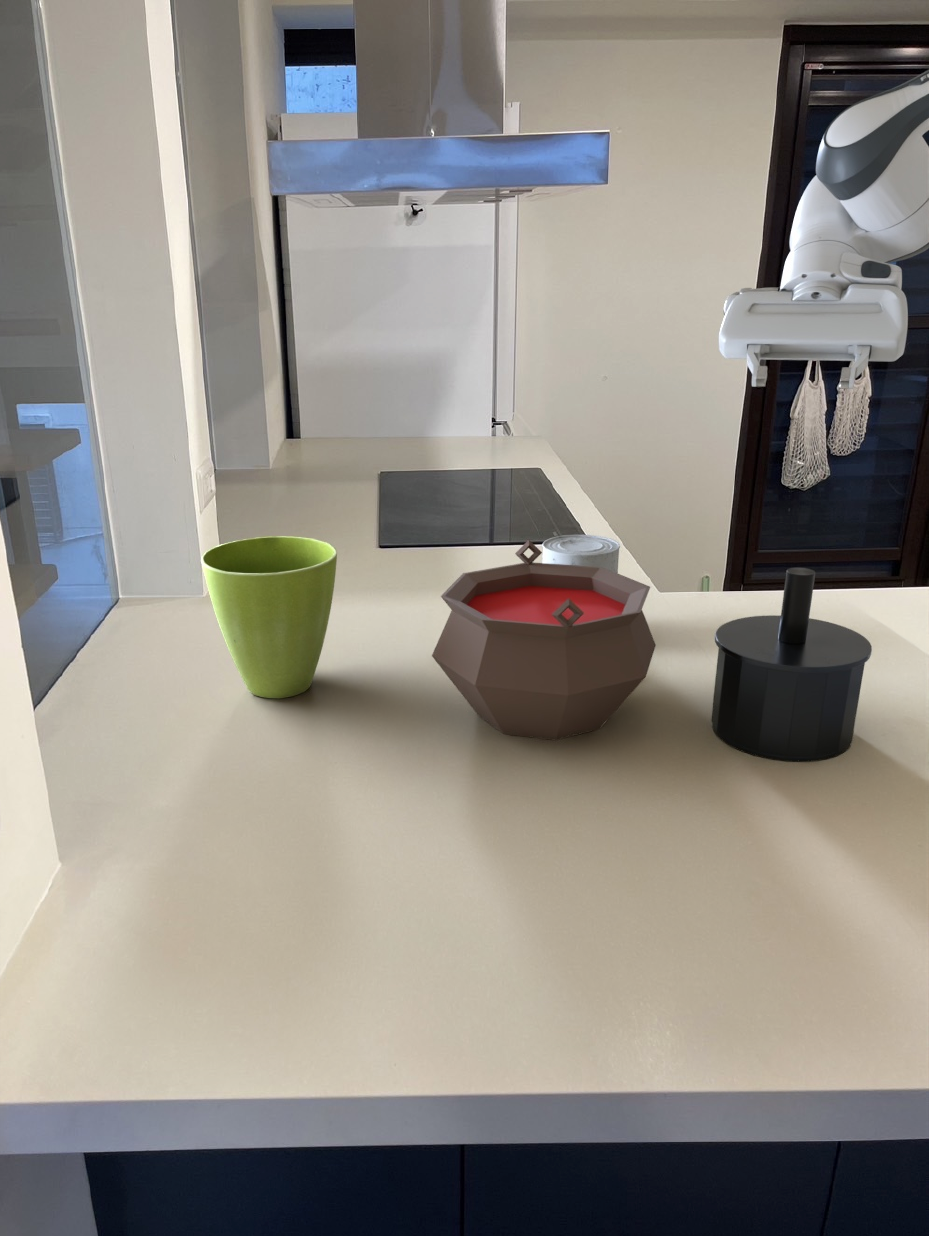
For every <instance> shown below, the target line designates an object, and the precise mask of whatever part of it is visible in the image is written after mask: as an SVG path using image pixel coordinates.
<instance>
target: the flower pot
mask: <svg viewBox="0 0 929 1236" xmlns="http://www.w3.org/2000/svg"><path fill="white" fill-rule="evenodd" d="M337 560H338V550H337V548H336V547H335V546H334V545H332V544H330V543H329V542H326V541H323V540H319V539H316V538H309V537H303V536H290V535H289V536H288V535H286V536H285V535H282V536H260V537H252V538H245V539H239V540H233V541H229V542H226V543H222V544H219V545H216V546H214V547H212V548H210V549H208V550H206V551H205V552H204V553H203V554H202V555H201V557H200V562H201V566H202V567H201V568H202V570H203V574H204V578H205V583H206V587H207V591H208V594H209V597H210V600H211V604H212V608H213V611H214V614H215V618H216V620H217V623H218V626H219V628H220V631H221V635H222V637H223V639H224V641H225V644H226V646H227V649H228V652H229V654H230V656H231V658H232V661H233V662H234V665H235V667H236V668H237V671H238V673H239V675H240V677H241V679H242V682H243V683H244V685H245V686H246V689H247V691H248V692H249V693H251V694H252V695H253V696H257V697H259V698H265V699H284V698H290V697H295V696H298V695H301V694H303V693H304V692H306V691H307V690H308V689H309V688H310V687H311V685H312V683H313V680H314V677H315V675H316V674H315V673H316V671H317V667H318V664H319V662H320V661H319V660H320V658H321V654H322V650H323V647H324V642H325V638H326V633H327V630H328V626H329V625H328V624H329V620H330V615H331V611H332V610H331V609H332V605H333V598H334V597H333V596H334V590H335V581H336V573H337V572H336V571H337Z"/></svg>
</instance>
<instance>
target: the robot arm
mask: <svg viewBox="0 0 929 1236" xmlns="http://www.w3.org/2000/svg"><path fill="white" fill-rule="evenodd" d="M928 131H929V69H927V70H925V71H924V72H922V73H921V74H918V75H916V76H914V77H913V78H911V79H909V80H907V81H905V82H903V83H901V84H899V85H896V86H894V87H893V88H890V89H887V90H885V91H882V92H879V93H876V94H874V95H871V96H869V97H866V98H864V99H861V100H859V101H857V102H855V103H853V104H852V105H850V106H848V107H847V108H845V109H844V110H843V111H842V112H840V113H839V114H838V115H837V116H836V117H835V118H833V120H832V121H831V122H830V123H829V125H828V126H827V128H826V130H825V131H824V134H823V136H822V139H821V142H820V144H819V147H818V152H817V156H816V162H815V174H816V175H814V176H813V178H812V179H811V181H810V182H809V183H808V185H807V186H806V188H805V190H803V193H802V196H801V197H800V200H799V201H798V205H797V207H796V210H795V212H794V213H795V214H794V216H793V217H794V218H793V222H792V225H791V229H790V230H791V231H790V235H789V250H790V251H789V253H788V255H787V257H786V259H785V262H784V266H783V271H782V274H781V281H780V286H779V287H762V288H760V287H759V288H752V287H743V288H740V290H739V291H736V292H733V293H731V294H729V295H727V297H726V299H725V301H724V302H725V303H724V306H723V311H722V313H723V315H724V317H723V320H722V322H721V325H720V329H719V334H718V350H719V353H720V354H721V355H722V357H723V358H724V359H726V360H746V366H747V367H748V369H749V371H750V372H751V387H755V388H761V387H763V388H764V387H765V388H766V383H767V380H768V365H760V363H761V360H767V361H769V360H772V361H773V360H775V361H776V360H777V361H833V362H834V361H838V362H839V361H840V362H853V363H852V364H851V365H850V366H849V367H846V366H845V367H843V366H842V367H841V373H840V379H839V385H838V387H839V388H838V389H839V390H854V387H855V381H856V378H857V379H858V377H859V376H860V375H861V374H862V373H863V372H864V371H865V370H866V369H867V368H868V365H869V362H895V361H897V360H898V359H899V358H900V357H902V356H903V355H904V353H905V348H906V343H907V342H906V341H907V335H908V324H909V323H908V322H909V313H908V311H909V310H908V301H907V300H908V299H907V297H906V296H907V295H906V294H905V292H904V291H903V290H902V285H903V270H902V268H901V266H898V265H896V264H892V263H896V262H901V261H905V260H907V259H910V258H913V257H915V256H918V255H920V254H922V253H924V252H926V251H927V250H928V249H929V145H928V143H927V142H926V140H925V138H924V137H923V135H924V134H925V133H927V132H928Z"/></svg>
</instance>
